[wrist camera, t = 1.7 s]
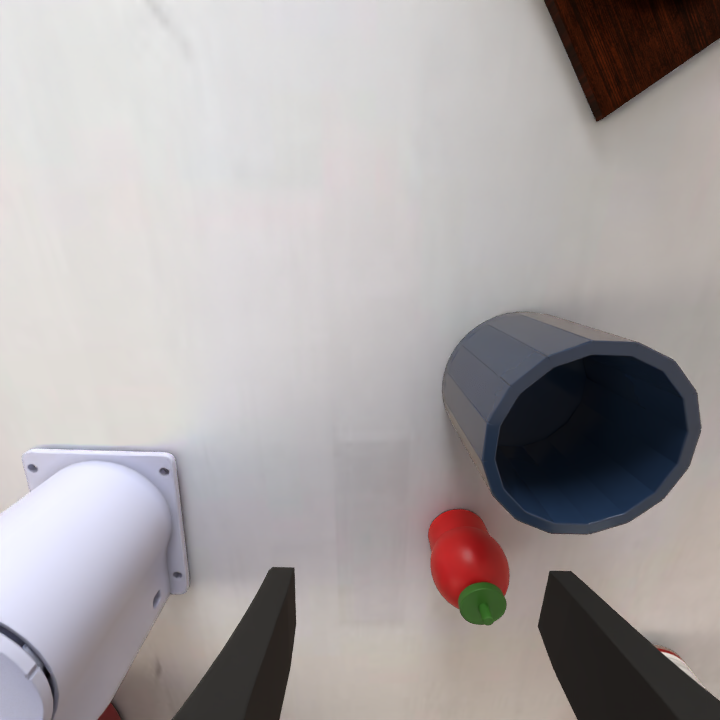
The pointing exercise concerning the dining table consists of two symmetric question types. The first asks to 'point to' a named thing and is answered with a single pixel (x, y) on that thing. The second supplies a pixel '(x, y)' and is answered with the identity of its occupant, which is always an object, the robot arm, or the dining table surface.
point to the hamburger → (630, 43)
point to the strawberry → (468, 566)
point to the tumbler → (570, 420)
